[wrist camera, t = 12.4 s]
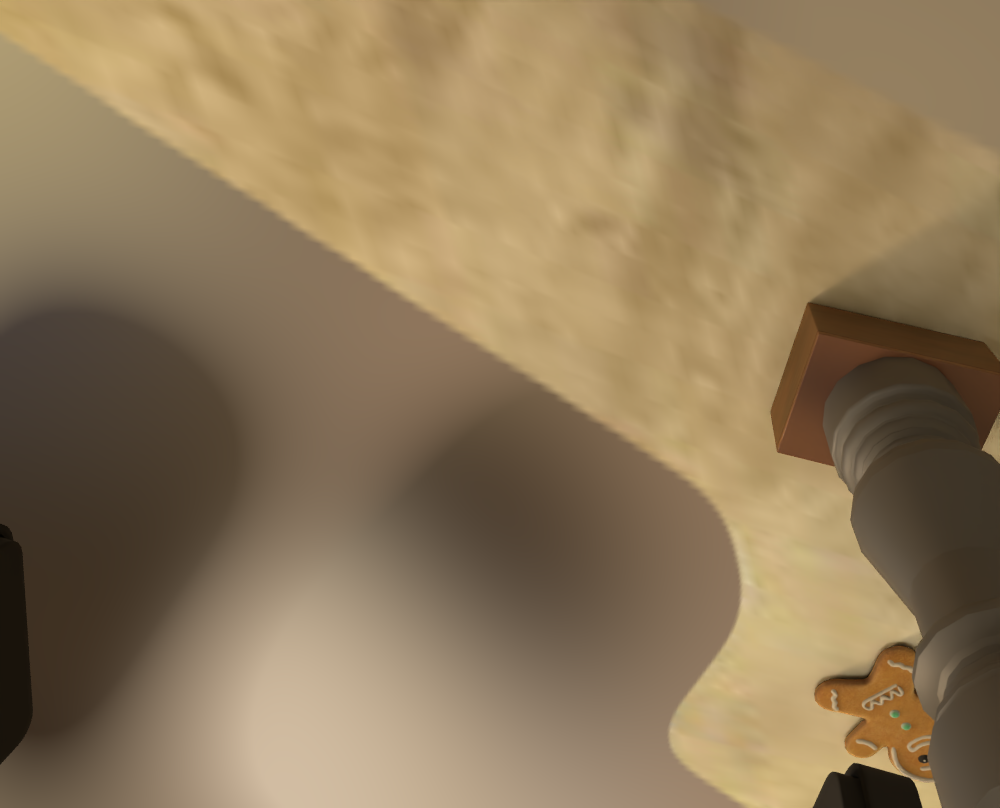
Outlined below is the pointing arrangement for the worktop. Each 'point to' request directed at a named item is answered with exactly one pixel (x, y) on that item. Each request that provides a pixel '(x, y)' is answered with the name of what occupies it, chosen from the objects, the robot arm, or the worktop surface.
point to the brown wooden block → (860, 339)
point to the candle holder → (931, 551)
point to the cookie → (885, 713)
